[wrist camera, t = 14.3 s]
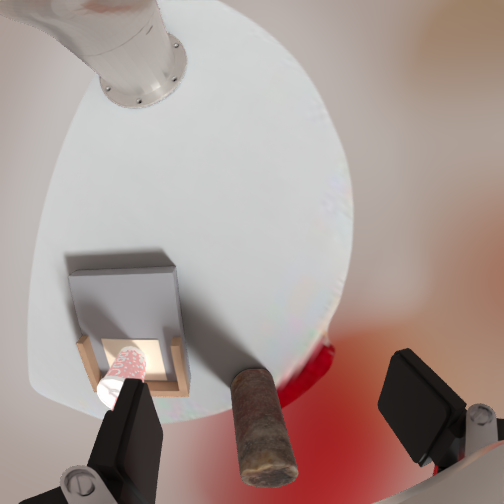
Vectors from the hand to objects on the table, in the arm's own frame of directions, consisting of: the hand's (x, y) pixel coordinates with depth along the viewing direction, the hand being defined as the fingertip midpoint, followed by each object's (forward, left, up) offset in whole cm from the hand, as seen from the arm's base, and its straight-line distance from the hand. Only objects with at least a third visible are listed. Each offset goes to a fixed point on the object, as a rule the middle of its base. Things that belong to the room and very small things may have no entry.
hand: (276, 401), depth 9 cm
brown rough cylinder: (+25, +2, -31) cm, 39 cm away
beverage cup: (+17, -16, -27) cm, 36 cm away
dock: (+13, -16, -30) cm, 37 cm away
